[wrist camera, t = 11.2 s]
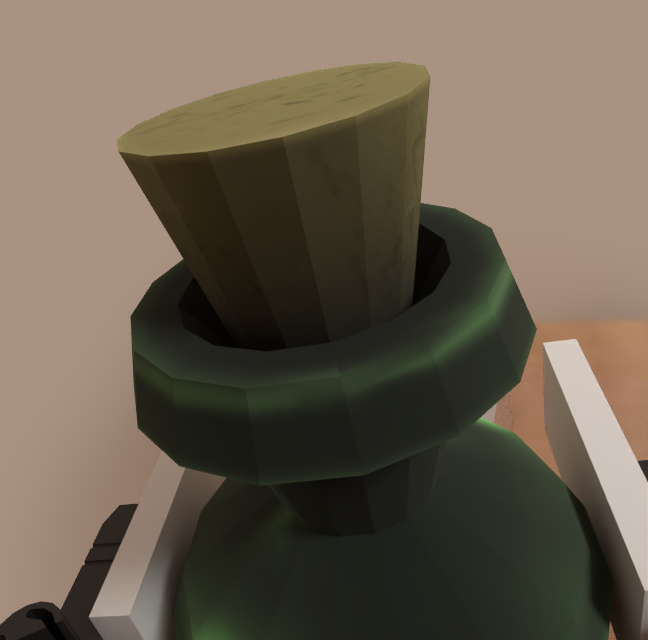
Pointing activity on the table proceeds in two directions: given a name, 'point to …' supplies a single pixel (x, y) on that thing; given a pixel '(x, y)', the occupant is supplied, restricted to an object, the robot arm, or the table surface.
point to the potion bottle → (345, 380)
